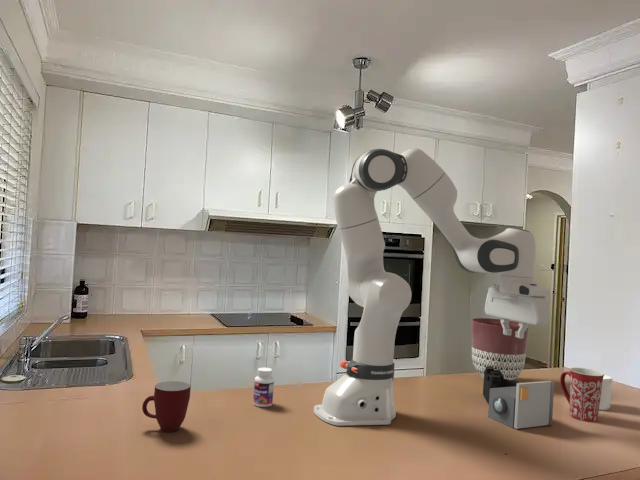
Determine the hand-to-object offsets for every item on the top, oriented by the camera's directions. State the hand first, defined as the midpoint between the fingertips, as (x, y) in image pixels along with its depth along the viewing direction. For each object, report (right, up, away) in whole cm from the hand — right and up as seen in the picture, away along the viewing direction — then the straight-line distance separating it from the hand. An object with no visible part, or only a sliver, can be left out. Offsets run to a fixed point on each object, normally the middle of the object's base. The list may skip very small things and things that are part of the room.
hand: (513, 336), depth 142 cm
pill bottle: (-70, -19, 0) cm, 72 cm away
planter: (+10, -24, +42) cm, 49 cm away
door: (+4, -23, -5) cm, 24 cm away
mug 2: (+22, -25, +8) cm, 34 cm away
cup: (+32, -26, +19) cm, 46 cm away
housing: (+1, -23, -1) cm, 23 cm away
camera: (+3, -24, +18) cm, 30 cm away
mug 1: (-90, -17, -23) cm, 94 cm away
